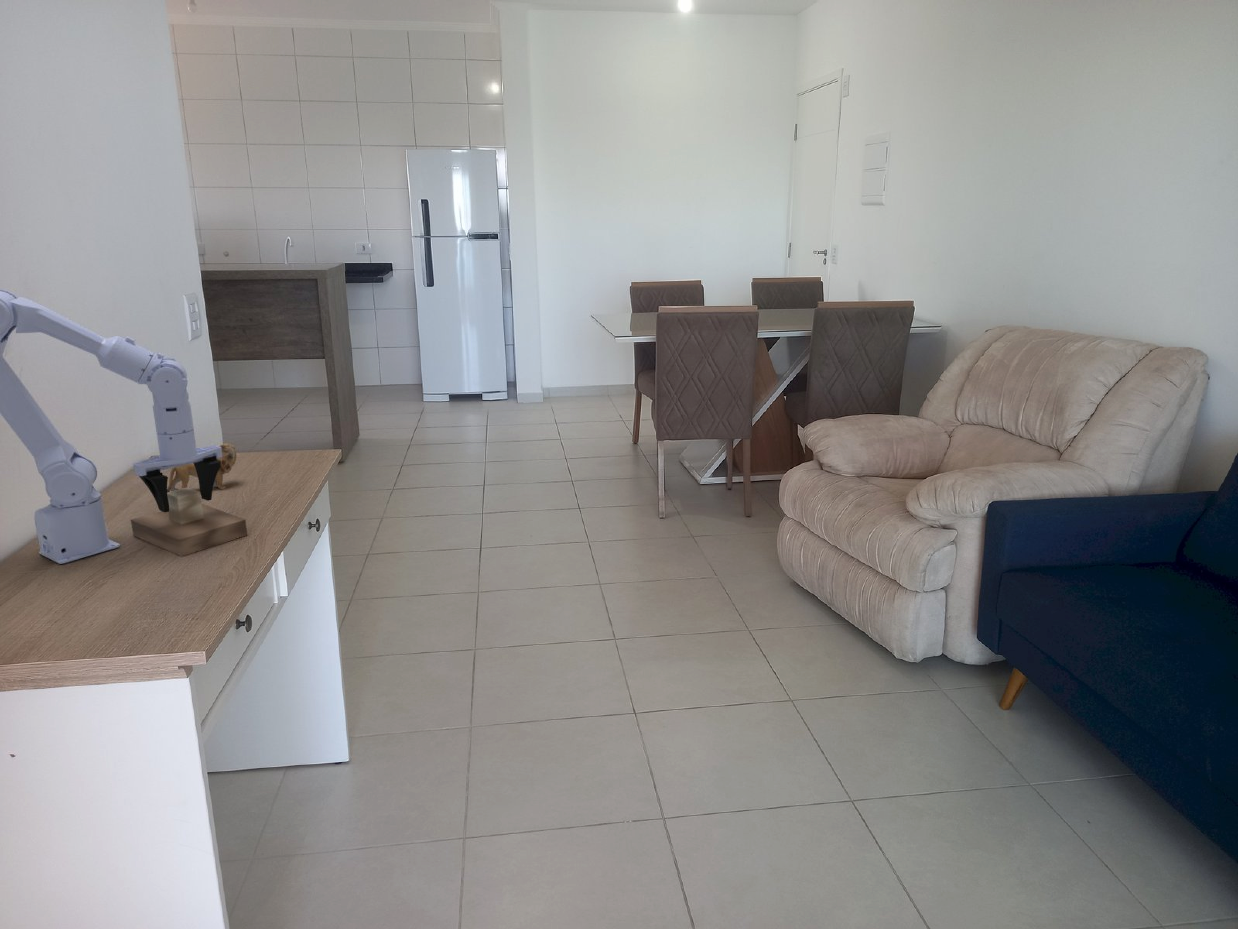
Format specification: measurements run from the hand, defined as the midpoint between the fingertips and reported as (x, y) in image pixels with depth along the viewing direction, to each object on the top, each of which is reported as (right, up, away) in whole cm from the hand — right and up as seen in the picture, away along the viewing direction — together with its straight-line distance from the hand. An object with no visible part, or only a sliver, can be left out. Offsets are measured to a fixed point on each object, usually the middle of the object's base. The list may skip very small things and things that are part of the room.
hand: (185, 504), depth 147 cm
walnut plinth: (0, -6, +2) cm, 6 cm away
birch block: (0, -3, +1) cm, 3 cm away
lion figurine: (-10, +2, +27) cm, 28 cm away
